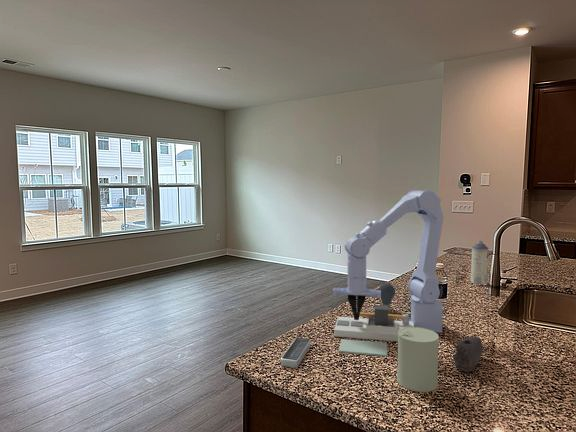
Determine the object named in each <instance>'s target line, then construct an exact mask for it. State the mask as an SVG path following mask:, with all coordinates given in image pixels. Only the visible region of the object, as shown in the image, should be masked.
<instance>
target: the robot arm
mask: <svg viewBox="0 0 576 432" xmlns="http://www.w3.org/2000/svg"><path fill="white" fill-rule="evenodd" d="M441 202H442V199H441V198H440V197H439V195H438V194H437V193H436V192H434V191H433V190H418V189H412V190H410V191H409V192H407V194H405V195H403V196H402V197H401V199H399V201H398V202H397V203H396V204H395V205H394V206H392V207H391V209H389V210H388V211H387V212H386V214H385V215H383V216H382V217H381V218H380V219H379V220H372V221H370V220H369V221H368V222H366V226H365V227H364V228H363V229H362V230H361V231H359V232H356V233H355V236H352V237H350V238H348V239H347V241H346V243H345V245H344V249H345V251H346V252H347V287H333V289H332V296H334V297H337V296H343V297H345V296H347V301H348V303H349V306H350V308H351V312H352V316H353V315H354V316H353V318H354V320H359V318H360V316H359V315H360V312H362V308H363V306H364V304H365V302H366V298H376V299H381V290H378V289H372V288H371V289H370V288H367V256H368V255H369V253H370V251H371V248H372V247H374V245H376V244H377V243H379V241H380V240H382V238H384V237H385V236H386V235H387V231H388V228H389V227H391V226H392V225H394V224H395V223H396V222H398V220H400V219H401V218H402V217H404V216H405V215H406V214H409V213H417V214H418V215H419V216H420V217H421V219H422V220H423V227H422V233H421V239H420V245H419V246H420V247H419V254H418V260H417V266H416V267H417V268H416V269H415V270H414V271H413V272H412V274H411V278H410V279H409V281H408V282H407V283H408V284H407V290H408V292H409V293H410V295H411V297H410V299H411V300H410V302H411V303H410V309H411V310H410V320H409V322H413V323H414V327H419V328H425V329H429V330H431V331H434V332H435V333H439V334H440V333H441V334H443V316H444V315H443V312H444V311H443V303H442V301H441V300H440V301H439V300H438V299H439V297H440V293H441V292H440V288H439V282H440V280H439V278H438V276H437V274H436V268H437V261H438V254H439V248H440V242H441V236H442V230H443V223H444V215H443V210H442V206H441Z"/></svg>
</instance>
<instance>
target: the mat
mask: <svg viewBox="0 0 576 432" xmlns="http://www.w3.org/2000/svg"><path fill="white" fill-rule="evenodd" d="M338 353H344V354H352V355H353V354H354V355H364V356H376V357H388V343H387V342H379V341H370V340H369V341H367V340H356V339H343V338H342V339H341V340H340V344H339V349H338Z"/></svg>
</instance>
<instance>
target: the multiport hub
mask: <svg viewBox="0 0 576 432" xmlns="http://www.w3.org/2000/svg"><path fill="white" fill-rule="evenodd" d="M311 342H312V341H311V338H305V337H295V338H294V340H293V341H292V342H291V343H290V345H289V347H288V348H287V350H286V351H285V352H284V354H283V355H282V356H281V358H280V366H281V367H285V368H293V369H297V368H298V367H299V366H300V365H301V362H302V361H303V359H304V357H305V356H306V354H307V352H308V351H309V349H310V348H311V344H312V343H311Z"/></svg>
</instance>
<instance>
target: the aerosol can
mask: <svg viewBox="0 0 576 432" xmlns="http://www.w3.org/2000/svg"><path fill="white" fill-rule="evenodd" d="M483 241H484V240H481V239H480V240H478V241H477V243H475V244H474V245H473V246H472V248H471V264H470V265H471V266H470V267H471V270H470V284H471V283H473V284H478V285H479V284H480V285H484V284H489V282H488V279H489V278H488V277H489V275H488V274H489V253H490V250H489V247H488V246H487V245H486V244H484V242H483ZM473 284H472V285H473Z"/></svg>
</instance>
